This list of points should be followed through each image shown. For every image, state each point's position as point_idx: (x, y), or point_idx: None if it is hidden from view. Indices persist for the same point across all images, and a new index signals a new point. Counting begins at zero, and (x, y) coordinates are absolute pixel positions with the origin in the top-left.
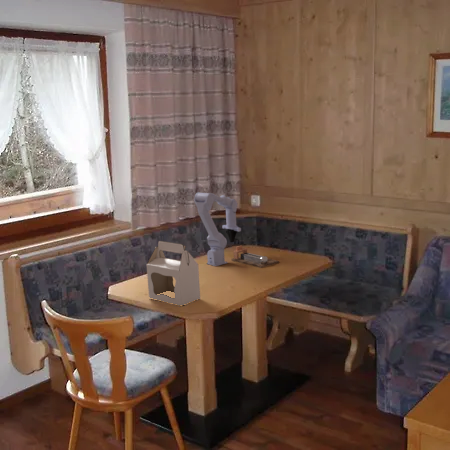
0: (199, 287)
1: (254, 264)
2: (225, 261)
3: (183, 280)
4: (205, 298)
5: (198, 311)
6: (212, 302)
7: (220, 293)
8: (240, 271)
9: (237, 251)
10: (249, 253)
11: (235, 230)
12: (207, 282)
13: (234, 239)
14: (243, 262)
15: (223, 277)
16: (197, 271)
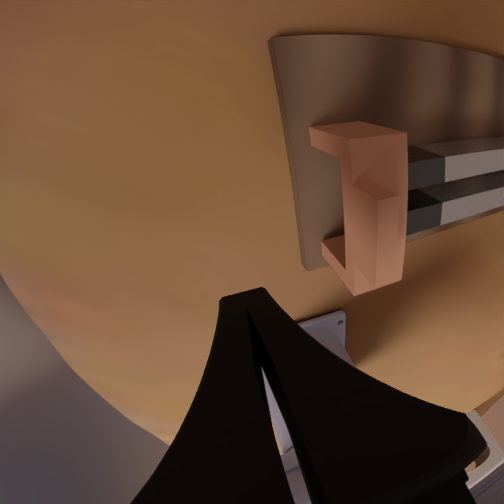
0: (485, 424)
1: (497, 211)
2: (319, 321)
3: (485, 454)
4: (480, 401)
5: (490, 406)
6: (496, 391)
7: (494, 379)
8: (476, 300)
9: (401, 274)
10: (453, 166)
11: (489, 480)
12: (440, 403)
13: (283, 312)
14: (429, 231)
15: (457, 366)
16: (499, 448)
